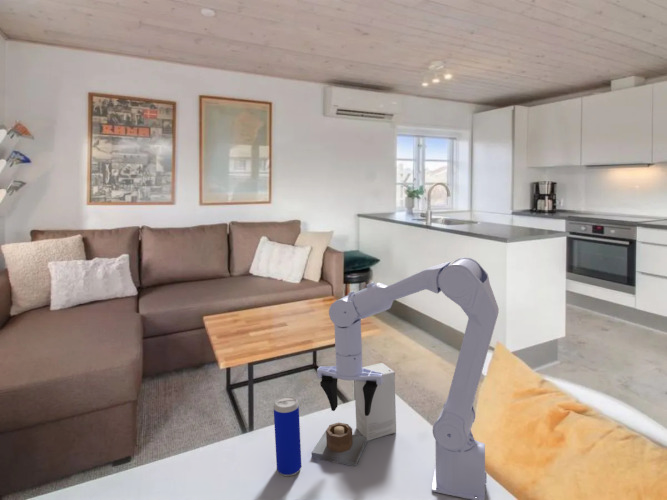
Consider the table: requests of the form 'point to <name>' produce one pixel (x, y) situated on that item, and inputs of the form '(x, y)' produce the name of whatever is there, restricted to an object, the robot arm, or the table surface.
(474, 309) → the robot arm
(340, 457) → the dowel stand
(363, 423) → the skincare box
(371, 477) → the table surface
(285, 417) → the beverage can
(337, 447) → the walnut ring
